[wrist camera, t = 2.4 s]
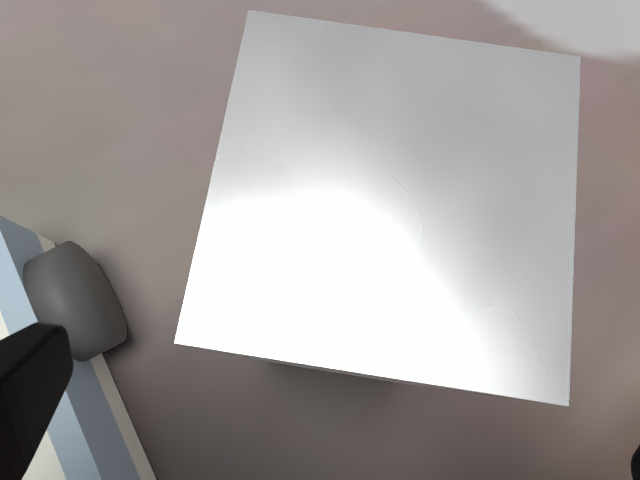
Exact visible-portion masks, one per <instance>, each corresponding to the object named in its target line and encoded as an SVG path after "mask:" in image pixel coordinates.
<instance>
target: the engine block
mask: <svg viewBox="0 0 640 480" xmlns="http://www.w3.org/2000/svg"><path fill="white" fill-rule="evenodd" d="M580 59H581V57H580V56H573V55H565V54H558V53H551V52H544V51H537V50H530V49H523V48H516V47H508V46H501V45H494V44H487V43H480V42H473V41H466V40H459V39H451V38H444V37H437V36H430V35H423V34H416V33H409V32H401V31H394V30H387V29H380V28H373V27H366V26H359V25H352V24H344V23H337V22H330V21H323V20H316V19H309V18H302V17H295V16H287V15H280V14H273V13H266V12H259V11H252V10H249V11H248V15H247V20H246V24H245V29H244V33H243V38H242V42H241V47H240V51H239V56H238V60H237V64H236V69H235V73H234V78H233V82H232V87H231V91H230V96H229V100H228V105H227V109H226V114H225V118H224V123H223V127H222V132H221V136H220V141H219V145H218V150H217V154H216V159H215V163H214V168H213V172H212V176H211V181H210V185H209V190H208V194H207V199H206V203H205V208H204V212H203V217H202V221H201V226H200V230H199V235H198V239H197V244H196V248H195V253H194V257H193V262H192V266H191V271H190V275H189V280H188V284H187V289H186V293H185V297H184V302H183V306H182V311H181V315H180V320H179V324H178V329H177V333H176V338H175V342H174V343H177V344H182V345H187V346H192V347H197V348H202V349H207V350H212V351H217V352H222V353H227V354H232V355H236V356H241V357H246V358H251V359H256V360H261V361H266V362H272V363H278V364H284V365H290V366H296V367H303V368H309V369H315V370H321V371H327V372H334V373H340V374H346V375H352V376H358V377H365V378H371V379H377V380H383V381H389V382H396V383H402V384H410V385H417V386H424V387H431V388H439V389H446V390H453V391H460V392H468V393H475V394H482V395H489V396H497V397H504V398H511V399H518V400H526V401H533V402H540V403H547V404H555V405H562V406H569V388H570V358H571V328H572V298H573V268H574V238H575V208H576V178H577V148H578V118H579V89H580Z"/></svg>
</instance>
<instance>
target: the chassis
mask: <svg viewBox="0 0 640 480" xmlns="http://www.w3.org/2000/svg"><path fill="white" fill-rule="evenodd" d="M35 322H47V323H53V324H59V325H62V326H64V327H65V328H66V329H67V331H68V336H69V341H70V346H71V352H72V357H73V364H74V367H73V373H72V377H71V379H70V382H69V384H68V386H67V388H66V390H65V392H64V394H63V396H62V398H61V401H60V403H59V405H58V407H57V409H56V411H55V413H54V415H53V417H52V420H51V422H50V424H49V426H48V428H47V430H46V432H45V434H44V436H43V439H42V441H41V443H40V445H39V447H38V449H37V451H36V453H35V455H34V457H33V459H32V461H31V463H30V465H29V467H28V469H27V471H26V473H25V475H24V476H23V478H22V480H156V478H155V475H154V473H153V471H152V468H151V466H150V464H149V461H148V459H147V457H146V454H145V452H144V450H143V447H142V445H141V443H140V441H139V438H138V436H137V434H136V431H135V429H134V427H133V424H132V422H131V420H130V417H129V415H128V413H127V410H126V408H125V406H124V403H123V401H122V399H121V397H120V394H119V392H118V390H117V387H116V385H115V383H114V380H113V378H112V376H111V373H110V371H109V369H108V366H107V364H106V362H105V359H104V357H103V355H102V353H103V352H105V351H107V350H109V349H111V348H112V347H114V346H116V345H118V344H120V343H122V342H124V341H125V339H126V336H127V327H126V321H125V318H124V314H123V311H122V309H121V306H120V303H119V301H118V299H117V297H116V295H115V293H114V291H113V289H112V287H111V285H110V283H109V282H108V280H107V278H106V277H105V275H104V274H103V272H102V271H101V269H100V268H99V266H98V265H97V264H96V262H95V261H94V260H93V259H92V258H91V256H90V255H89V254H88V253H87V252H86V251H85V250H84V249H83V248H81V247H80V246H79V245H77V244H76V243H74V242H71V241H66V242H64V243H62V244H60V245H58V246H55V244H54V242H52V241H50V240H48V239H46V238H44V237H42V236H40V235H38V234H36V233H34V232H32V231H30V230H28V229H26V228H24V227H22V226H20V225H18V224H16V223H14V222H12V221H10V220H8V219H6V218H4V217H2V216H0V340H1V339H3V338H5V337H7V336H9V335H11V334H13V333H15V332H17V331H19V330H21V329H23V328H25V327H27V326H29V325H31V324H33V323H35Z"/></svg>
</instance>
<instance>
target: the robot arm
mask: <svg viewBox="0 0 640 480" xmlns="http://www.w3.org/2000/svg"><path fill="white" fill-rule="evenodd" d="M73 367H74V364H73V357H72V352H71V346H70V341H69V336H68V331H67V329H66V328H65V327H64V326H62V325H59V324H53V323H47V322H35V323H33V324H31V325H29V326H27V327H25V328H23V329H21V330H19V331H17V332H15V333H13V334H11V335H9V336H7V337H5V338H3V339H1V340H0V480H22V478H23V476H24V475H25V473H26V471H27V469H28V467H29V465H30V463H31V461H32V459H33V457H34V455H35V453H36V451H37V449H38V447H39V445H40V443H41V441H42V439H43V436H44V434H45V432H46V430H47V428H48V426H49V424H50V422H51V420H52V417H53V415H54V413H55V411H56V409H57V407H58V405H59V403H60V401H61V398H62V396H63V394H64V392H65V390H66V388H67V386H68V384H69V382H70V379H71V377H72V373H73ZM631 473H632V478H633V480H640V445H639V447H638V448H637V450H636V451H635V452H634V454H633V456H632V460H631Z"/></svg>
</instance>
